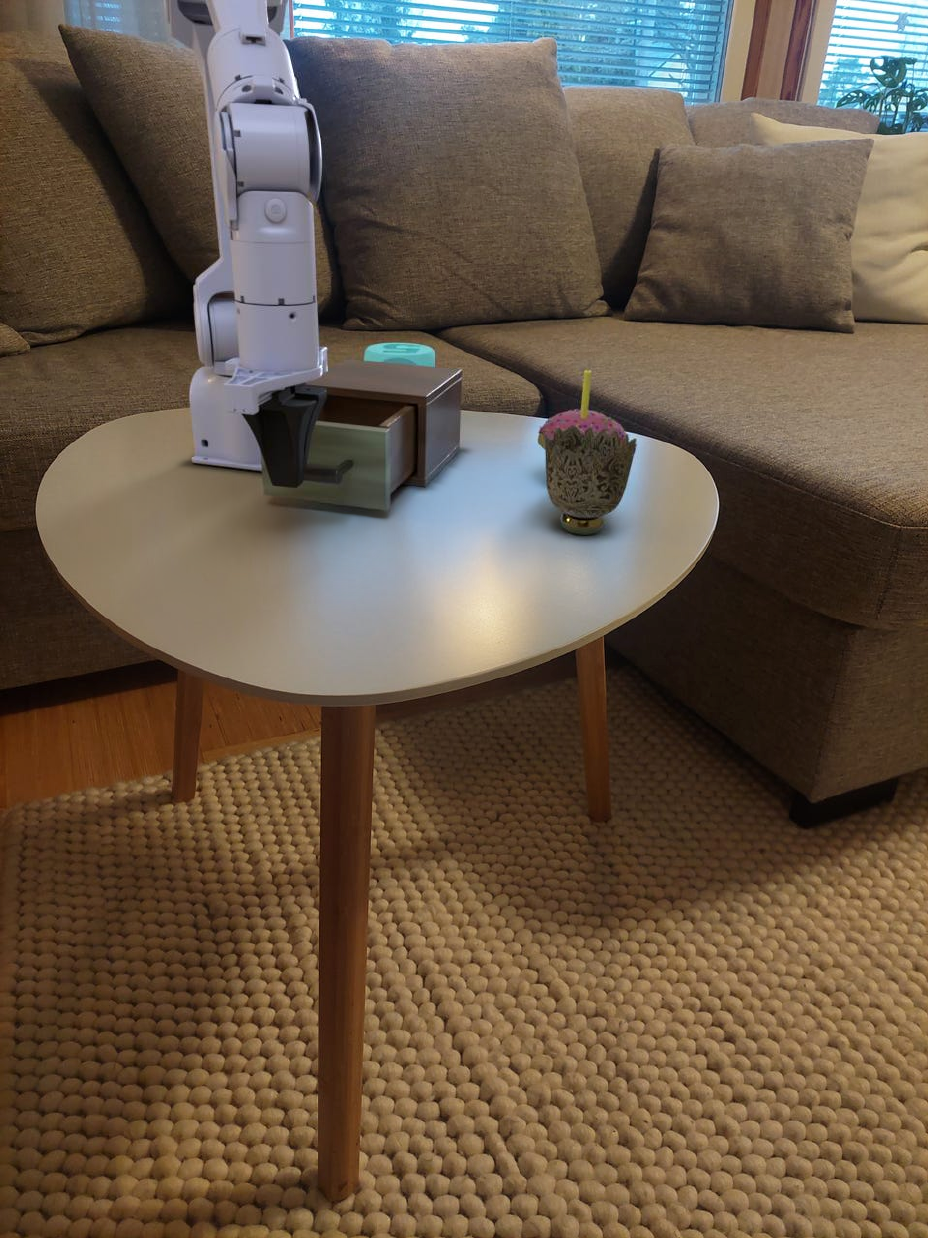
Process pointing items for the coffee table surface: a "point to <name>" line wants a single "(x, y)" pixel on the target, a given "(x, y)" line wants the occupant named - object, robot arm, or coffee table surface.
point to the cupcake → (581, 418)
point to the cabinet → (408, 385)
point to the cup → (587, 475)
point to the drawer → (356, 453)
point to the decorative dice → (401, 354)
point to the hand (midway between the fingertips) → (287, 484)
